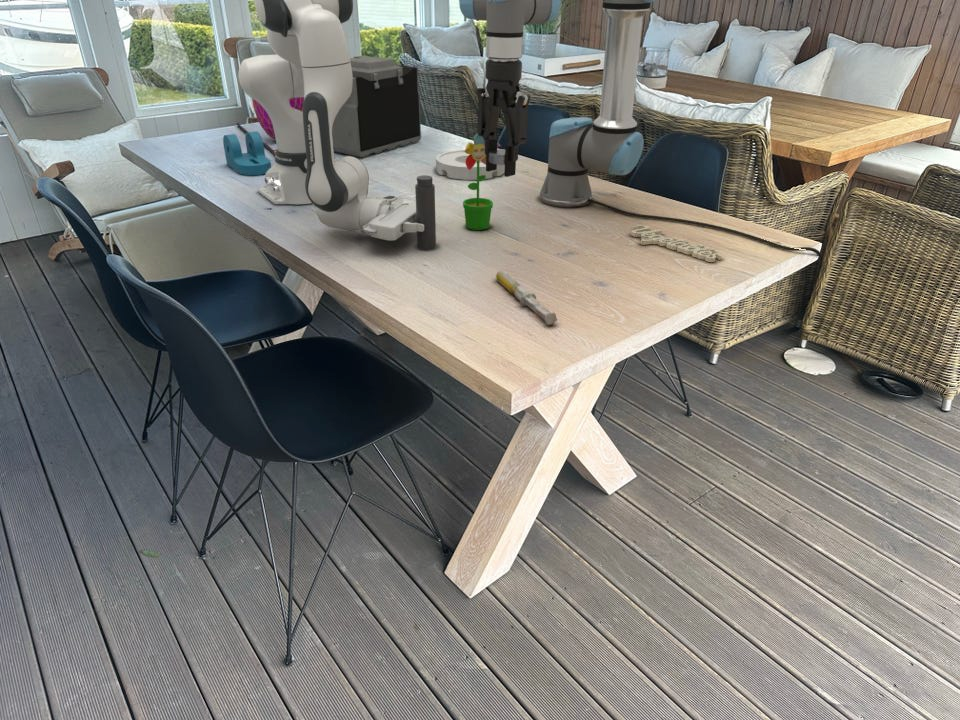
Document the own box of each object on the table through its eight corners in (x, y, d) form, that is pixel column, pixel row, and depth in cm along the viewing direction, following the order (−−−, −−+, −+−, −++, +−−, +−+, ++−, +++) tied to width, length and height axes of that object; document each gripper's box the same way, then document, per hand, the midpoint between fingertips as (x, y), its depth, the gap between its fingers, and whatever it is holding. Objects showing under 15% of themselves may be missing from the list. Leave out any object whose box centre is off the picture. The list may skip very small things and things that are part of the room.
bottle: (420, 242, 172) (418, 174, 163) (438, 244, 171) (436, 175, 163) (415, 249, 168) (412, 179, 160) (433, 250, 167) (431, 180, 159)
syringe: (491, 278, 153) (492, 266, 152) (507, 275, 154) (507, 264, 153) (540, 327, 133) (541, 315, 132) (557, 324, 134) (558, 312, 133)
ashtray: (439, 160, 240) (438, 148, 238) (505, 161, 240) (505, 150, 238) (433, 179, 220) (432, 166, 218) (505, 180, 220) (505, 168, 218)
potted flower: (469, 233, 178) (469, 134, 165) (456, 224, 184) (455, 127, 171) (501, 228, 181) (503, 130, 169) (487, 219, 187) (488, 124, 175)
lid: (497, 166, 148) (497, 155, 147) (484, 160, 152) (484, 150, 150) (517, 162, 150) (517, 152, 149) (503, 157, 154) (503, 148, 153)
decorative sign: (617, 232, 177) (640, 223, 183) (616, 235, 177) (640, 227, 183) (706, 262, 160) (729, 252, 166) (705, 266, 160) (728, 255, 166)
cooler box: (383, 133, 276) (378, 52, 261) (425, 141, 265) (422, 56, 250) (314, 150, 251) (304, 61, 235) (358, 160, 240) (350, 67, 224)
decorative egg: (293, 132, 276) (283, 50, 261) (319, 140, 264) (310, 56, 249) (249, 139, 265) (236, 54, 250) (273, 148, 253) (261, 60, 238)
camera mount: (227, 164, 233) (221, 132, 227) (257, 160, 238) (252, 129, 233) (244, 176, 220) (239, 143, 215) (276, 172, 225) (271, 139, 220)
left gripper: (357, 217, 160) (411, 224, 156) (395, 193, 177) (444, 199, 173) (359, 243, 164) (412, 250, 160) (396, 216, 180) (445, 223, 176)
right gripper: (549, 62, 137) (542, 178, 149) (485, 53, 148) (483, 162, 160) (524, 65, 133) (518, 184, 144) (460, 56, 144) (460, 167, 155)
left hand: (429, 223), depth 167 cm, fingers closed on bottle, 4 cm apart
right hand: (500, 172), depth 152 cm, fingers closed on lid, 5 cm apart
